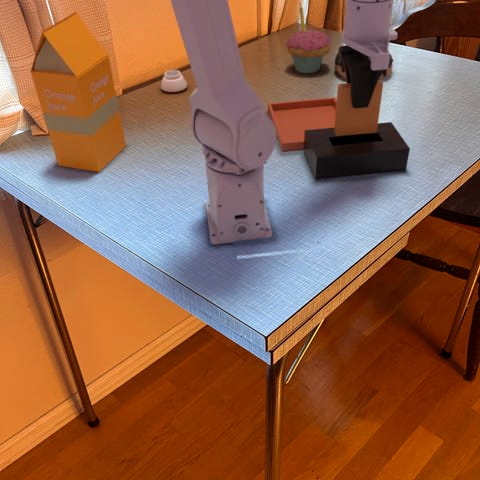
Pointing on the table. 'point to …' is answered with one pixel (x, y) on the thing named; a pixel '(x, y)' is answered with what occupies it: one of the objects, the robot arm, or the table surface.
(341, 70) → the donut
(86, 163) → the orange juice
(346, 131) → the toast
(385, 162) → the toaster
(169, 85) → the lidless jar
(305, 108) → the red tray
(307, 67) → the cupcake
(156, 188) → the table surface
